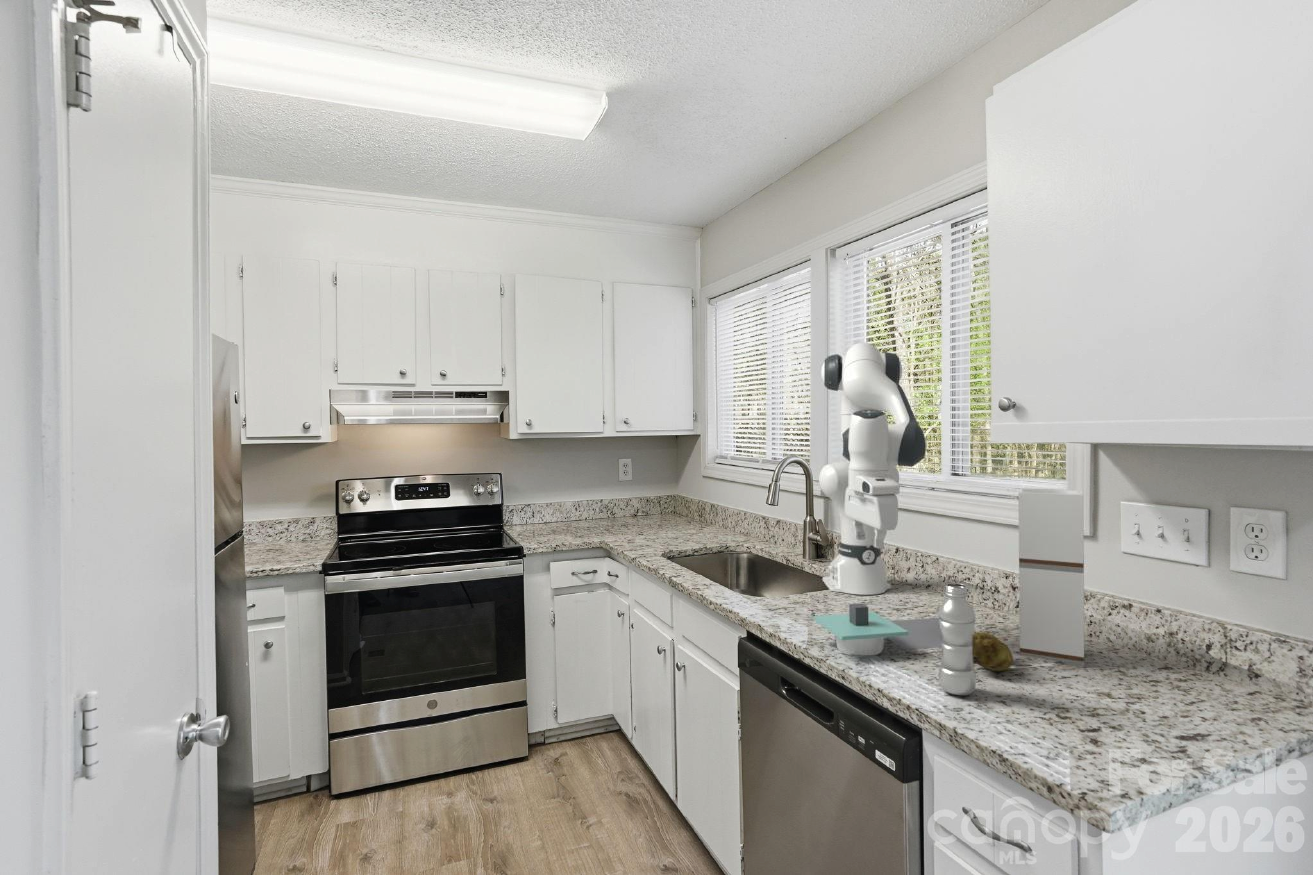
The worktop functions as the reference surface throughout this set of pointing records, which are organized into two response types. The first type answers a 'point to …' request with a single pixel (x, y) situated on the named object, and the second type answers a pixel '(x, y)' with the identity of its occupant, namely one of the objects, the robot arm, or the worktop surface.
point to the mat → (918, 634)
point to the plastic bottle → (957, 641)
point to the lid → (859, 624)
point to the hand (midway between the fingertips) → (868, 543)
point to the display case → (1051, 575)
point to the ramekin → (860, 646)
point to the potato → (990, 652)
